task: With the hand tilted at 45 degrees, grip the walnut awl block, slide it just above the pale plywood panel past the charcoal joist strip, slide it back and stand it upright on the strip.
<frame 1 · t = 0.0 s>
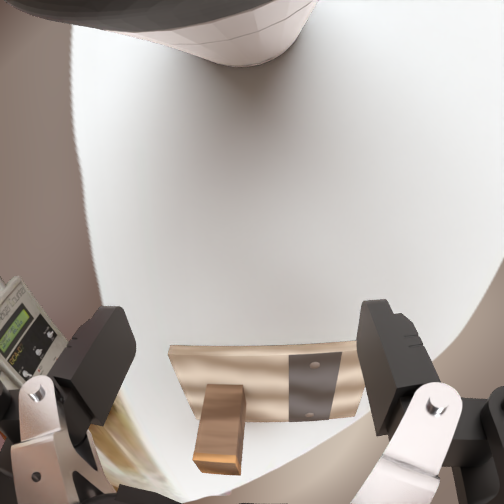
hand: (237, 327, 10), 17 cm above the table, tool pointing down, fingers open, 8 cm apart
walnut awl block: (227, 394, 38), point 1 cm above the table, touching subfloor panel
geiger counter: (42, 317, 36), on the table
subfloor panel: (273, 385, 39), on the table
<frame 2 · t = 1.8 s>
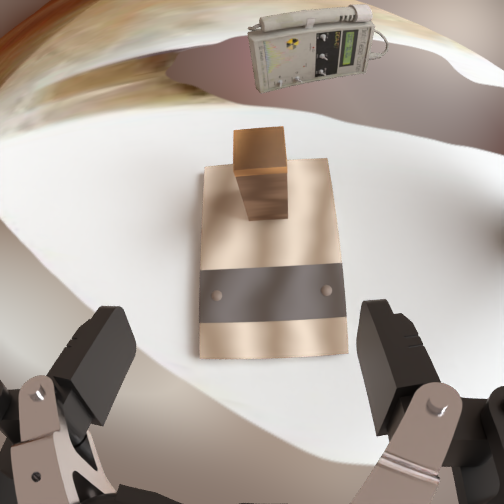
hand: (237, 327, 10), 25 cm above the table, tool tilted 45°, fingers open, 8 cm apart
walnut awl block: (267, 202, 37), point 1 cm above the table, touching subfloor panel
geiger counter: (324, 72, 46), on the table
subfloor panel: (270, 254, 37), on the table
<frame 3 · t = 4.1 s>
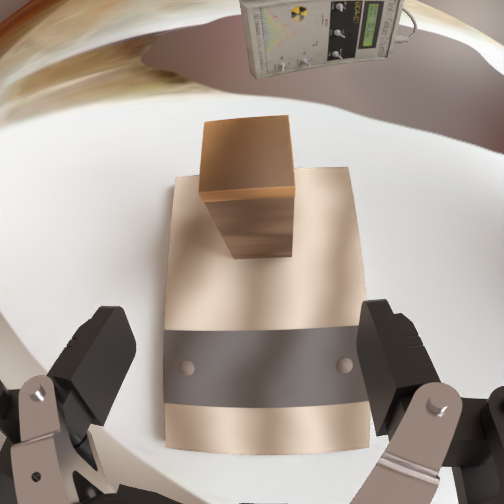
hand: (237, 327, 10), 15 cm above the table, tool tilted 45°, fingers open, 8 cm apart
walnut awl block: (262, 231, 26), point 1 cm above the table, touching subfloor panel
geiger counter: (339, 56, 35), on the table
subfloor panel: (265, 307, 25), on the table
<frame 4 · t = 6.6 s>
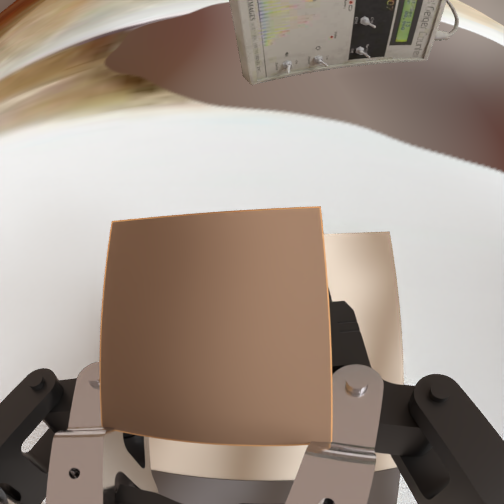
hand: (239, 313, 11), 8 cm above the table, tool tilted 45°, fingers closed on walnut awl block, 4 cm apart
walnut awl block: (257, 343, 16), point 2 cm above the table, touching gripper, subfloor panel
geiger counter: (362, 54, 25), on the table
subfloor panel: (260, 442, 16), on the table
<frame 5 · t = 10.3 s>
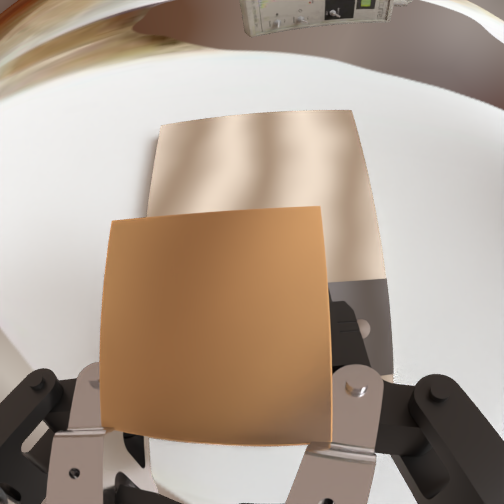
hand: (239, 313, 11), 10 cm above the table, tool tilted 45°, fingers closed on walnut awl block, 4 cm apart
walnut awl block: (257, 343, 16), point 4 cm above the table, touching gripper
geiger counter: (336, 18, 30), on the table
subfloor panel: (260, 261, 21), on the table
when the fingers open (9 cm above the table, at t = 13.9 s): walnut awl block stays where it is, resting on subfloor panel.
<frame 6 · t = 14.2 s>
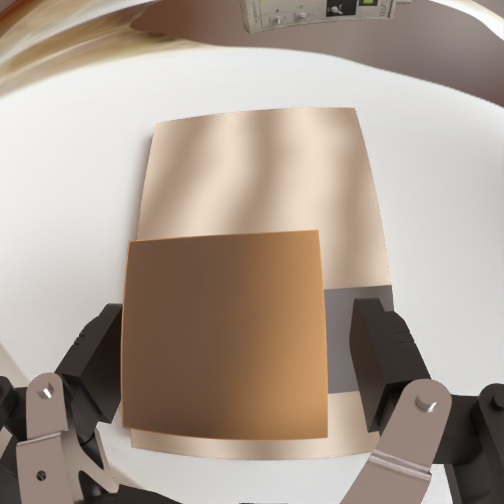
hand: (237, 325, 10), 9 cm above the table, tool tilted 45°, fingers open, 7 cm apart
walnut awl block: (259, 347, 17), point 2 cm above the table, touching subfloor panel
geiger counter: (338, 15, 29), on the table
subfloor panel: (258, 266, 20), on the table
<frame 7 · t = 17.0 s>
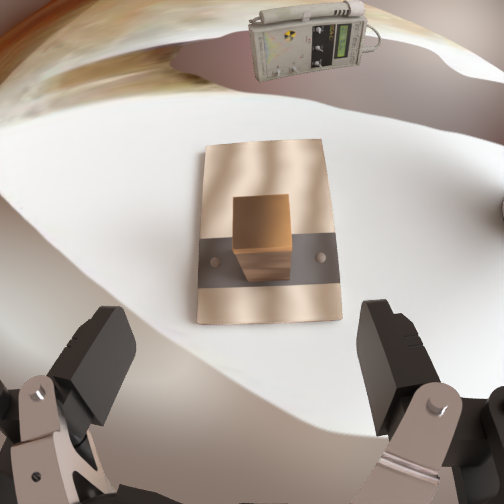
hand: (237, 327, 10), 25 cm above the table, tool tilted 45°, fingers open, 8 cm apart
walnut awl block: (268, 261, 35), point 2 cm above the table, touching subfloor panel
geiger counter: (320, 64, 48), on the table
subfloor panel: (267, 225, 39), on the table
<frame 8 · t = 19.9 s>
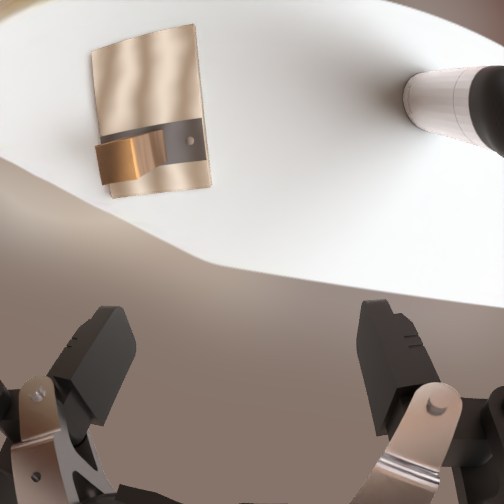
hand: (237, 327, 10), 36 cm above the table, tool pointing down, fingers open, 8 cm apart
walnut awl block: (150, 147, 41), point 2 cm above the table, touching subfloor panel
subfloor panel: (149, 112, 40), on the table
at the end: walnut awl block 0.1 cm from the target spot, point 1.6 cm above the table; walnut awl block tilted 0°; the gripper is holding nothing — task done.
